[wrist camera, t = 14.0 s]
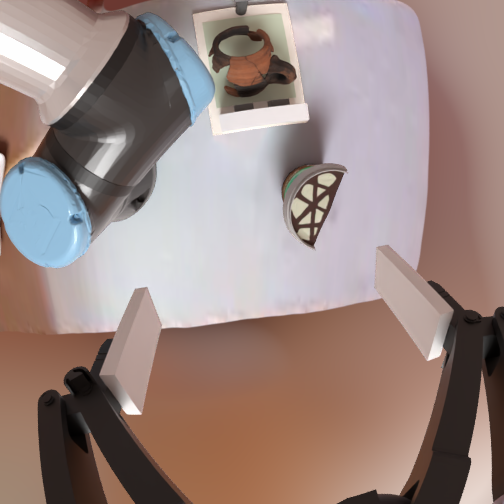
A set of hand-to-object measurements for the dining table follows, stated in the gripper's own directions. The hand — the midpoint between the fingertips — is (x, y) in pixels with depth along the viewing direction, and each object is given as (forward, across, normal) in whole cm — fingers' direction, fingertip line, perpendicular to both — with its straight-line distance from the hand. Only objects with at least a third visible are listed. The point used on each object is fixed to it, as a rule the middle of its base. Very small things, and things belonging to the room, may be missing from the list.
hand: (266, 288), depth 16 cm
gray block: (+31, +4, +26) cm, 40 cm away
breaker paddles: (+28, +4, +10) cm, 30 cm away
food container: (+32, +8, -3) cm, 33 cm away
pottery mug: (+31, +4, +16) cm, 35 cm away
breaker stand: (+32, +4, +17) cm, 36 cm away
